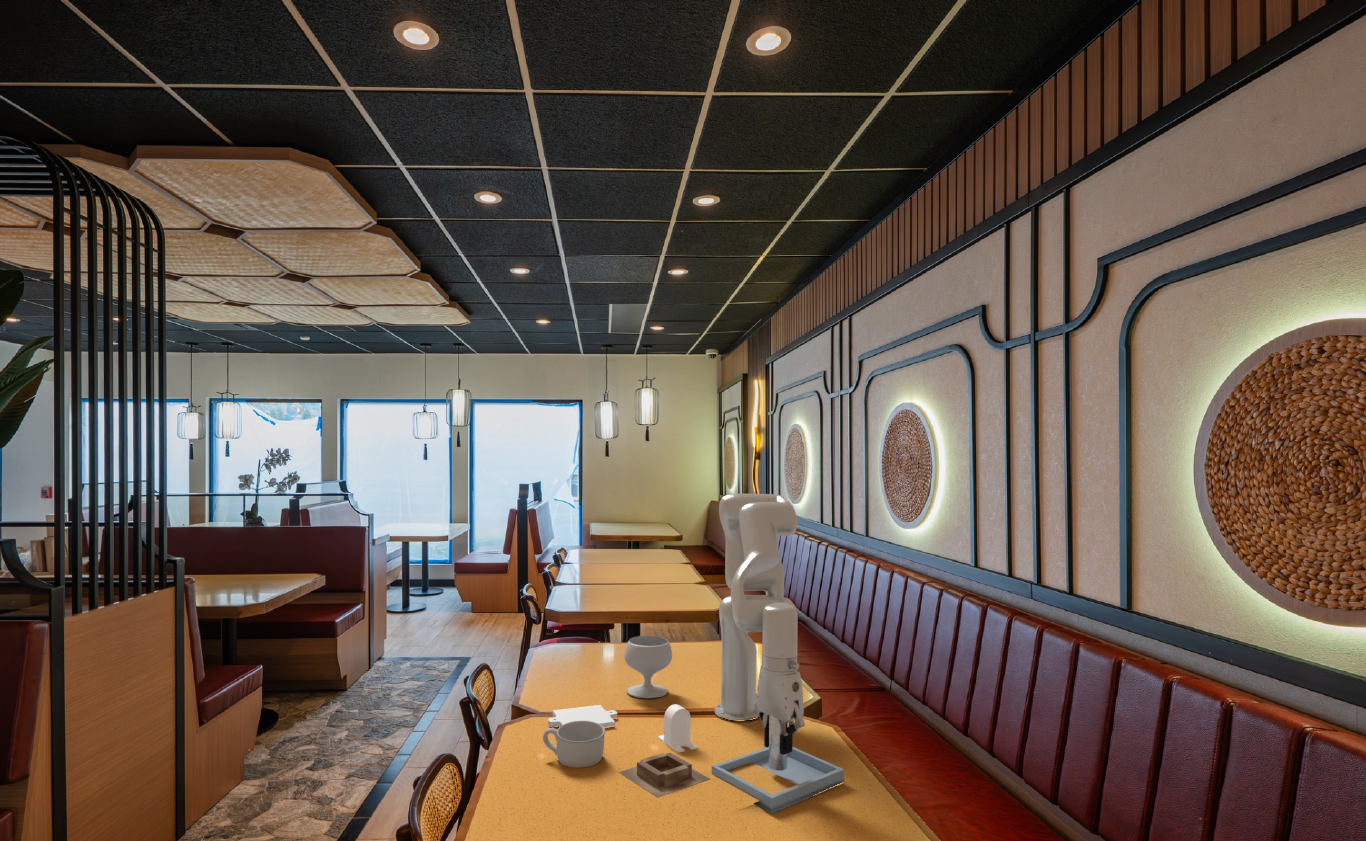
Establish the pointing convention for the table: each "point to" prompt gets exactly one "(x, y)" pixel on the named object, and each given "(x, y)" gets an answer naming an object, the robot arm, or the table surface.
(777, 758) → the pin
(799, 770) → the tray
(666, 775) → the brown square socket base
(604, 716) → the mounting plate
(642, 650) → the chalice
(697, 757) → the table surface
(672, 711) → the cable organizer
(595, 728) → the teacup
